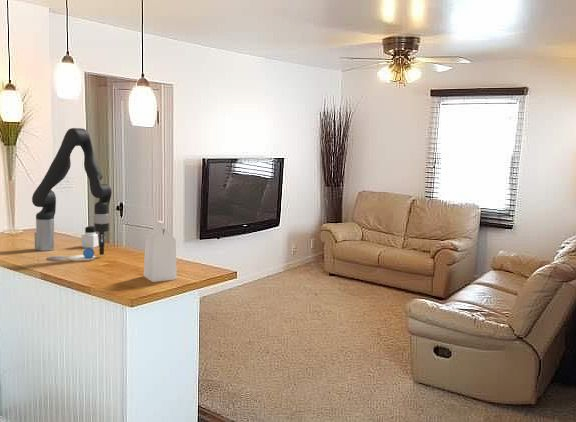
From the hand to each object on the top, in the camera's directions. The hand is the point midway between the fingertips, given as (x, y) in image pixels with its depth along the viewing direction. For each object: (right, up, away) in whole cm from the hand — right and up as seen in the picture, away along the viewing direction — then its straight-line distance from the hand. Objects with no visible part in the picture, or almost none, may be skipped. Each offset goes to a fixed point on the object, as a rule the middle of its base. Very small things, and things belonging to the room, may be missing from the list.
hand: (101, 254), depth 294 cm
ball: (-5, +1, -4) cm, 7 cm away
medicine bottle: (-16, +2, +28) cm, 32 cm away
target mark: (-9, -2, -3) cm, 10 cm away
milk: (+40, -8, -40) cm, 57 cm away
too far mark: (-21, -2, -8) cm, 22 cm away
